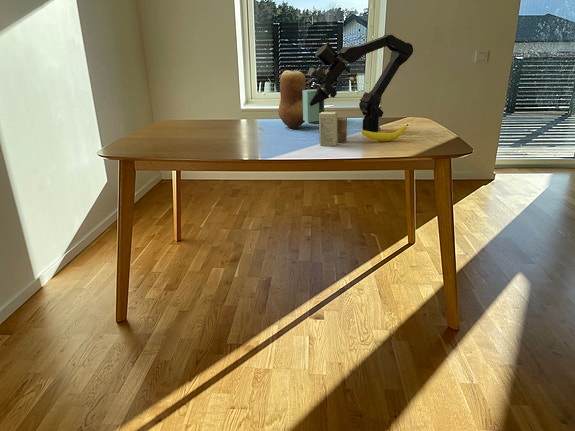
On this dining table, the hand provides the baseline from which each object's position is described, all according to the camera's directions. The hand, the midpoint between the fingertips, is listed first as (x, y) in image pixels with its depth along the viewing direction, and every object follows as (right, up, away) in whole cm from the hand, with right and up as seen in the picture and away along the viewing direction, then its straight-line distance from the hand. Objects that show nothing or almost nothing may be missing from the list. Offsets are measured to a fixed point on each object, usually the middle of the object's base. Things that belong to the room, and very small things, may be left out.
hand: (307, 104), depth 170 cm
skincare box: (+8, -18, -7) cm, 21 cm away
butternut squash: (-6, -4, +25) cm, 26 cm away
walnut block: (+13, -16, -3) cm, 21 cm away
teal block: (+2, -6, +3) cm, 7 cm away
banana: (+29, -16, -5) cm, 34 cm away
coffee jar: (+6, +1, +35) cm, 36 cm away
